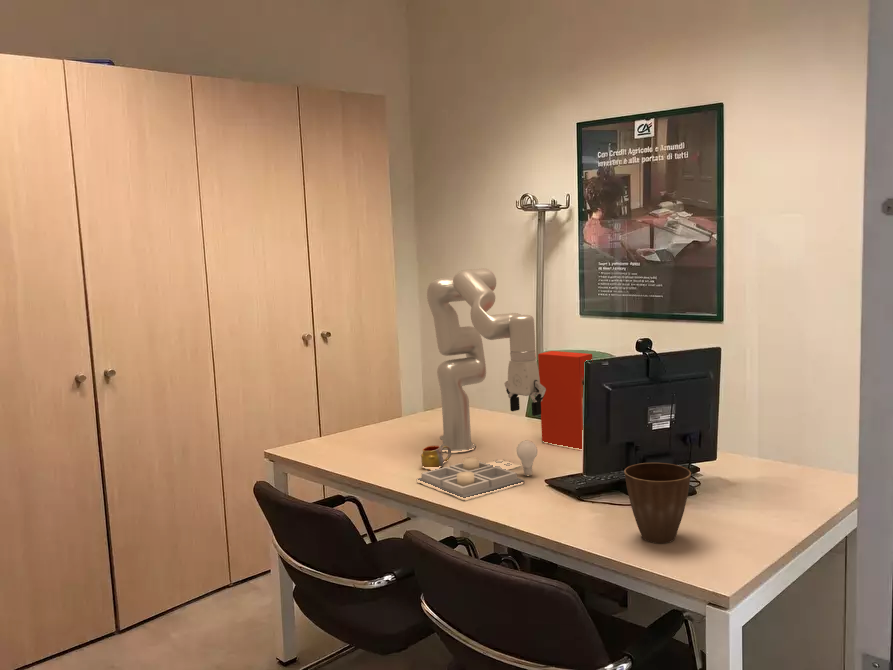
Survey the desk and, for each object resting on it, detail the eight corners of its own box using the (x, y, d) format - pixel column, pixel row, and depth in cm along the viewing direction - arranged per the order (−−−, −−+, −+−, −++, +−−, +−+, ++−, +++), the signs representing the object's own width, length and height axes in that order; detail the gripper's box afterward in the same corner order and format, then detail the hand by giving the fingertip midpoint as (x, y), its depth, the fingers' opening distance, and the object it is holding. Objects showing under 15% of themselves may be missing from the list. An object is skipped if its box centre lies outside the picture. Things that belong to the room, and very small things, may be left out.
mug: (431, 472, 244) (430, 452, 243) (417, 468, 249) (416, 448, 248) (459, 464, 252) (458, 444, 251) (445, 460, 257) (444, 440, 256)
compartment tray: (416, 482, 233) (415, 466, 233) (474, 467, 246) (473, 451, 245) (464, 501, 214) (463, 483, 213) (524, 483, 227) (523, 466, 226)
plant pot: (659, 521, 191) (658, 458, 189) (706, 540, 178) (705, 472, 176) (613, 534, 184) (611, 469, 182) (657, 555, 171) (655, 485, 169)
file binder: (581, 451, 259) (578, 357, 255) (541, 443, 271) (538, 353, 268) (595, 446, 264) (592, 353, 260) (556, 438, 277) (552, 350, 273)
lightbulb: (522, 472, 238) (521, 437, 237) (541, 474, 235) (540, 439, 234) (514, 477, 233) (512, 442, 232) (533, 480, 230) (531, 444, 229)
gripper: (494, 355, 235) (497, 411, 237) (533, 360, 221) (536, 418, 223) (513, 352, 239) (516, 407, 241) (552, 357, 225) (554, 414, 227)
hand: (525, 412), depth 232 cm, fingers open, 9 cm apart
